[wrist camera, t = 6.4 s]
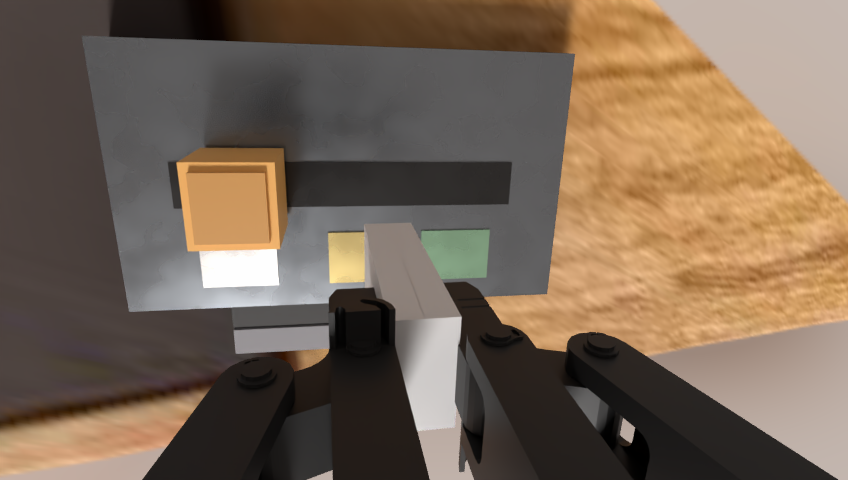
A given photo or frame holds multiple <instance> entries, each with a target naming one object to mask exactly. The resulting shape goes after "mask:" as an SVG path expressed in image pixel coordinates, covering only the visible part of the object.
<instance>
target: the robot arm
mask: <svg viewBox="0 0 848 480" xmlns="http://www.w3.org/2000/svg"><path fill="white" fill-rule="evenodd" d="M364 255H365V288H350V289H336V290H335V291H334V292H333V294H332V295H331V296H330V297H329V312H328V322H329V352H328V354H327V355H326V357H325V358H324V359H322V360H321V361H320V362H319V363H317V364H315V365H313V366H311V367H308V368H305V369H303V370H299V371H295V372H294V370H293V368H292V367H291V365H290V364H289V363H287V362H285V361H284V360H282V359H277V358H272V357H256V358H251V359H247V360H244V361H241V362H239V363H237V364H235V365H233V366H231V367H229V368H228V369H227V370H226V371H225V372H224V373H222V374H221V376H220V377H219V378H218V380H217V381H216V382H215V384H214V385H213V386H212V388H211V389H210V390H209V392H208V393H207V394H206V396H205V397H204V398H203V400H202V401H201V402H200V404H199V405H198V406H197V408H196V409H195V410H194V412H193V413H192V414H191V416H190V417H189V418H188V420H187V421H186V422H185V424H184V425H183V426H182V428H181V429H180V430H179V432H178V433H177V434H176V436H175V437H174V438H173V440H172V441H171V442H170V444H169V445H168V446H167V448H166V449H165V450H164V452H163V453H162V454H161V456H160V457H159V458H158V460H157V461H156V462H155V464H154V465H153V466H152V468H151V469H150V470H149V471H148V473H147V474H146V475H145V477H144V478H143V479H142V480H307V479H309V478H312V477H315V476H317V475H320V474H323V473H325V472H328V471H331V470H333V480H430V479H429V475H428V471H427V467H426V464H425V460H424V456H423V452H422V448H421V444H420V440H419V436H418V432H417V431H424V430H433V429H443V428H453V427H455V420H456V407H457V409H458V411H459V414H460V417H461V419H462V421H461V437H460V452H459V472H464V469H465V462H466V460H468V463H469V466H470V469H471V472H472V475H473V477H474V480H838V479H836V478H835V477H833V476H832V475H830V474H829V473H827V472H825V471H824V470H822V469H821V468H819V467H818V466H816V465H815V464H813V463H811V462H810V461H808V460H807V459H805V458H804V457H802V456H801V455H799V454H797V453H796V452H794V451H793V450H791V449H790V448H788V447H787V446H785V445H783V444H782V443H780V442H779V441H777V440H776V439H774V438H772V437H771V436H770V435H768V434H766V433H765V432H763V431H762V430H760V429H758V428H757V427H756V426H754V425H752V424H751V423H749V422H748V421H746V420H745V419H743V418H742V417H740V416H738V415H737V414H735V413H734V412H732V411H731V410H729V409H728V408H726V407H724V406H723V405H721V404H720V403H718V402H717V401H715V400H713V399H712V398H710V397H709V396H707V395H706V394H704V393H702V392H701V391H699V390H698V389H696V388H695V387H693V386H692V385H690V384H689V383H687V382H686V381H684V380H682V379H681V378H679V377H678V376H676V375H675V374H673V373H672V372H670V371H668V370H667V369H665V368H664V367H662V366H661V365H659V364H657V363H656V362H654V361H653V360H651V359H650V358H648V357H647V356H645V355H644V354H642V353H640V352H639V351H637V350H636V349H634V348H633V347H631V346H630V345H628V344H626V343H625V342H623V341H621V340H619V339H617V338H615V337H612V336H608V335H606V334H604V333H598V332H597V333H596V332H589V333H579V334H577V335H574V336H572V337H571V338H570V339H569V341H568V343H567V350H566V352H562V351H552V350H544V349H538V348H536V347H535V346H534V344H533V343H532V341H531V340H530V339H529V337H528V336H527V335H526V334H525V333H523V332H522V331H521V330H519V329H517V328H515V327H512V326H509V325H504V324H502V323H501V321H500V320H499V318H498V317H497V316H496V314H495V313H494V311H493V310H492V308H491V307H489V304H488V302H487V301H486V300H485V299H484V296H483V295H482V294H481V292H480V291H479V289H478V288H476V287H474V286H473V285H471V284H469V283H467V282H446V283H443V281H442V280H441V278H440V276H439V274H438V272H437V270H436V268H435V267H434V265H433V263H432V261H431V259H430V257H429V255H428V254H427V252H426V250H425V248H424V246H423V244H422V243H421V241H420V239H419V237H418V235H417V233H416V231H415V230H414V228H413V226H412V224H411V223H380V224H364ZM623 418H624V419H626V420H627V421H628V422H629V423H631V424H632V425H633V426H634V427H635V432H634V437H633V441H632V443H629V442H628V441H626V440H625V439H624V438H622V437H621V436H620V431H621V425H622V420H623Z"/></svg>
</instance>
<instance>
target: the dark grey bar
mask: <svg viewBox="0 0 848 480" xmlns="http://www.w3.org/2000/svg"><path fill="white" fill-rule="evenodd" d="M231 309H232V319H233V327H252V326H273V325H294V324H314V323H329V322H328V312H329V303H323V304H299V305H275V306H252V307H231Z"/></svg>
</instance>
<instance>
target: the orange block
mask: <svg viewBox="0 0 848 480" xmlns="http://www.w3.org/2000/svg"><path fill="white" fill-rule="evenodd" d="M177 170H178V178H179V186H180V194H181V202H182V210H183V218H184V226H185V234H186V241H187V249H188V251H228V250H267V249H280V248H281V245H282V241H283V238H284V235H285V232H286V229H287V225H288V215H287V198H286V181H285V164H284V148H199V149H197V150H196V151H194V152H193V153H191V154H189V155H188V156H186V157H184V158H183V159H181V160H180V161H178V162H177Z"/></svg>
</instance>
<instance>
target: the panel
mask: <svg viewBox="0 0 848 480" xmlns="http://www.w3.org/2000/svg"><path fill="white" fill-rule="evenodd" d="M82 41H83V46H84V52H85V58H86V64H87V70H88V75H89V81H90V87H91V93H92V99H93V104H94V110H95V116H96V122H97V128H98V133H99V139H100V145H101V151H102V157H103V162H104V168H105V174H106V180H107V185H108V191H109V197H110V203H111V209H112V214H113V220H114V226H115V232H116V238H117V243H118V249H119V255H120V261H121V267H122V272H123V278H124V284H125V290H126V296H127V301H128V307H129V312H133V311H157V310H181V309H204V308H228V307H252V306H275V305H299V304H323V303H329V297H330V296H331V295H332V294H333V292H334V291H335V290H336V289H350V288H365V255H364V224H380V223H411V224H412V226H413V228H414V230H415V231H416V233H417V235H418V237H419V239H420V241H421V243H422V244H423V246H424V248H425V250H426V252H427V254H428V255H429V257H430V259H431V261H432V263H433V265H434V267H435V268H436V270H437V272H438V274H439V276H440V278H441V280H442V281H443V283H446V282H467V283H469V284H471V285H473V286H474V287H476V288H478V289H479V291H480V292H481V294H482V295H483V296H484V297H489V296H512V295H536V294H547V289H548V281H549V272H550V264H551V255H552V246H553V238H554V229H555V221H556V212H557V204H558V195H559V186H560V178H561V169H562V161H563V152H564V143H565V135H566V126H567V118H568V109H569V100H570V92H571V83H572V75H573V66H574V57H575V54H568V53H541V52H513V51H485V50H458V49H430V48H403V47H375V46H348V45H320V44H292V43H265V42H237V41H210V40H182V39H154V38H127V37H99V36H82ZM199 148H284V164H285V181H286V198H287V215H288V225H287V229H286V232H285V235H284V238H283V241H282V245H281V248H280V249H267V250H228V251H188V249H187V241H186V234H185V226H184V218H183V210H182V202H181V194H180V186H179V178H178V170H177V162H178V161H180V160H181V159H183V158H184V157H186V156H188V155H189V154H191V153H193V152H194V151H196V150H197V149H199Z"/></svg>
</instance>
